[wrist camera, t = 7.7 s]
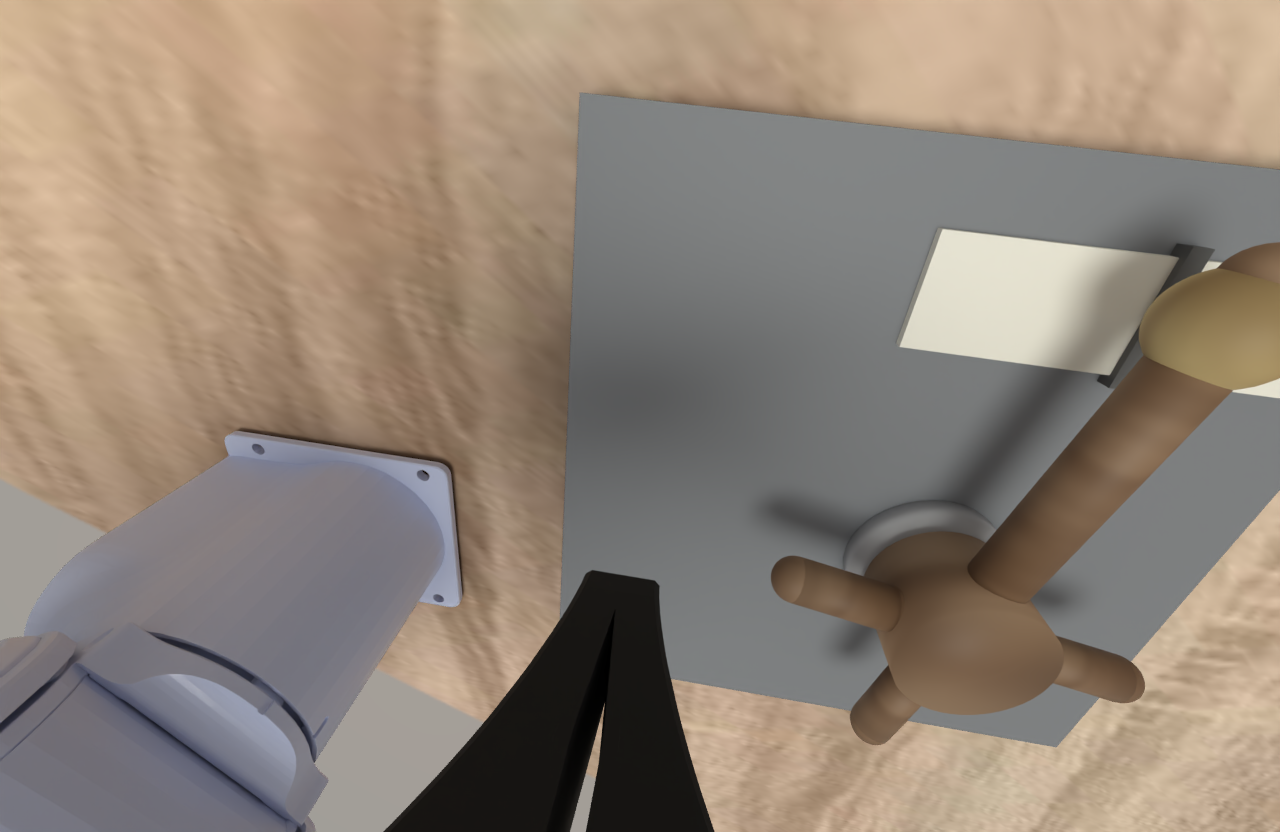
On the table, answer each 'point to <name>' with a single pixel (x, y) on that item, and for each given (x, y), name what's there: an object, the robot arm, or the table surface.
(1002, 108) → the table surface
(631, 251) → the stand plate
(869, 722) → the capstan dial
